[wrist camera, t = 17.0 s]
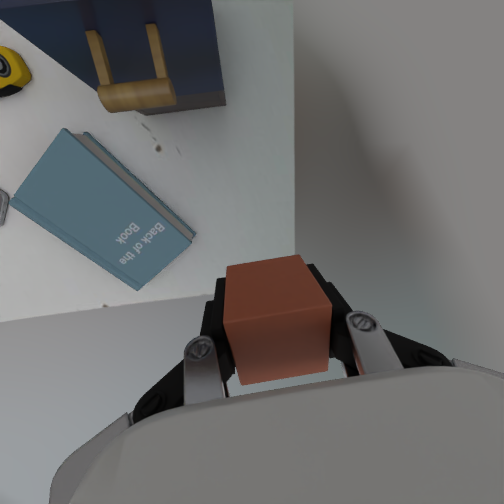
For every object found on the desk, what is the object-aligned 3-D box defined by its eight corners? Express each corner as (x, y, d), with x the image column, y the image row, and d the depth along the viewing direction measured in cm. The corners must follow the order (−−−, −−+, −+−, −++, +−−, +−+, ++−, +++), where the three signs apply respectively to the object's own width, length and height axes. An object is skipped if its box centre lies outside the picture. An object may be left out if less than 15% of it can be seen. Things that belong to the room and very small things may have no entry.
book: (196, 233, 39) (191, 243, 35) (145, 279, 43) (134, 293, 38) (87, 132, 30) (62, 128, 26) (35, 200, 34) (4, 207, 30)
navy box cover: (-21, -9, 11) (23, 104, 12) (206, -34, 11) (222, 79, 12) (111, 96, 22) (126, 149, 23) (222, 82, 22) (230, 135, 23)
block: (226, 265, 11) (222, 323, 8) (299, 253, 12) (333, 304, 8) (238, 319, 13) (241, 386, 10) (301, 309, 14) (328, 371, 10)
